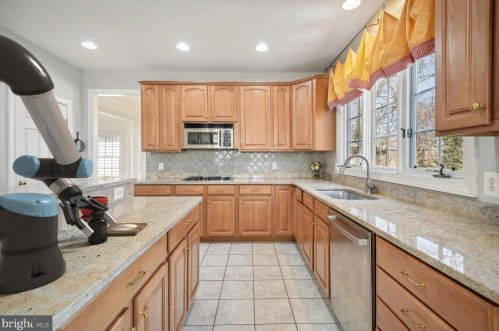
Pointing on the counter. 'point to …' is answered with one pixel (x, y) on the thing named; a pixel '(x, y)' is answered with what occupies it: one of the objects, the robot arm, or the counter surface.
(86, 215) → the plant pot
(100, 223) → the supplement bottle
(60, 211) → the cup
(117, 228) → the walnut board
